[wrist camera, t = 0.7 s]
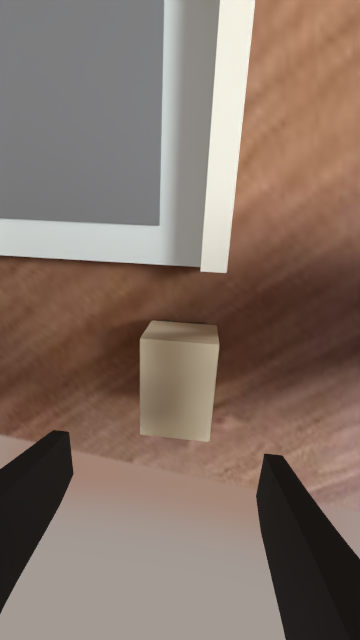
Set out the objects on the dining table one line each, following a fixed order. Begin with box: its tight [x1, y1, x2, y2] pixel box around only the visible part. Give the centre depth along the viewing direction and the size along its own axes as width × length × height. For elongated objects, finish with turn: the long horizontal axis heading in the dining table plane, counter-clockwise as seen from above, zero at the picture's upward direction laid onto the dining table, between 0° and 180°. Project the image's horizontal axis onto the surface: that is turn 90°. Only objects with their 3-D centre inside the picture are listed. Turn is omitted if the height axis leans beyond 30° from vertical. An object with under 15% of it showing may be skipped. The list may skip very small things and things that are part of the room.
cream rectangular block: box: [140, 320, 219, 442], centre depth 15 cm, size 4×6×4 cm, turn 177°
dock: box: [0, 0, 255, 273], centre depth 12 cm, size 16×13×4 cm
